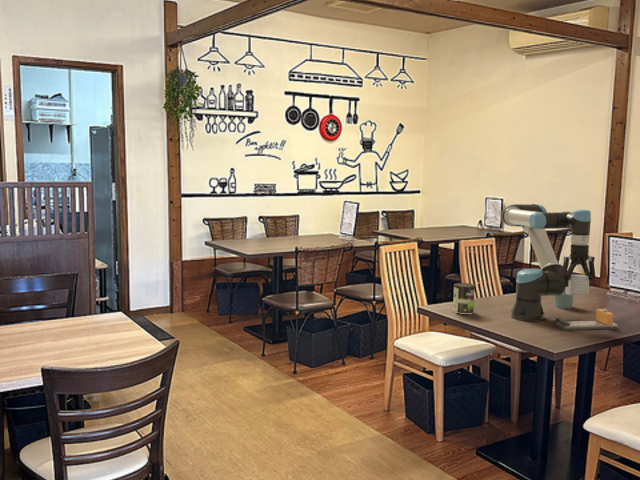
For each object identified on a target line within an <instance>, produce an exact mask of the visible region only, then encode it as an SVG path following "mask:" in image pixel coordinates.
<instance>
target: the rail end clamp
mask: <svg viewBox="0 0 640 480" xmlns="http://www.w3.org/2000/svg"><path fill="white" fill-rule="evenodd" d="M595 321H599V322H602V323H604V324H606V325H613V323H614V313H612V312H610V311H608V309H607V308H597V309H596V310H595Z"/></svg>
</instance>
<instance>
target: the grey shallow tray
mask: <svg viewBox="0 0 640 480" xmlns="http://www.w3.org/2000/svg"><path fill="white" fill-rule="evenodd" d="M555 322H556V323H555V326H556V325H557V326H556V327H558V328H560V329H562V330H563V329H564V331H575V330H577V331H579V330H587V331H588V330H619V329H620V326H619V325H618V324H617V323H616V322H613V325H606V324H604V323H602V322H599V321H597V320H580V321H573V320H572V321H569V320H568V321H566V320H564V319H562V318H561V317H556V318H555Z"/></svg>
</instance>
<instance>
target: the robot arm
mask: <svg viewBox="0 0 640 480" xmlns="http://www.w3.org/2000/svg"><path fill="white" fill-rule="evenodd" d="M591 214H592V213H591V211H590V210H588V209H578V208H577V209H573V211H572V212H571V211H561V212H557V211H555V212H554V211H553V212H547V208H546V207H545V206H543V205H542V204H539V203H538V204H537V203H531V204H528V203H527V204H526V203H525V204H521V203H520V204H517V203H516V204H515V203H514V204H510V205H507V206H505V207H504V208H503V209H502V211H501V213H500V219H501V221H502V223H503V224H505V225H506V226H509V227H519V228H520V227H521V228H522V230H523V232H524V233H526V234H528V237H529V240H530V243H531V247H532V248H533V251H534V254H535V256H536V259H537V262H538V264H539V265H538V266H539V267H540V268H524V269H521V270H519V271H518V272H517V274H516V279H515V281H516V282H515V283H516V285H515V302H514V303H513V307H512V309H511V313H510V315H511V318H513V317H514V319H515V318H517V319H516V320H519V319H521V320H520V321H525V320H528V321H529V322H538V321H539V320H540V321H542V320H544V319H545V312H544V309H543V305H542V297H543V296H544V297H546V296H547V297H548V296H549V297H550V296H551V297H552V296H554V297H555V296H557V295H559V296H561V295H567V294H570V286H571V280H569V279H570V276H571V275H573V273H574V270H575V268H576V267H577V266H579V265H580V266H581V267H582V270H583V272H584V275H586V276H588V277H589V278H588V292H587V295H589V290H590V287H591V283H592V280H593V279H595V278H596V269H595V259H596V257H595V256H592V255H589V252H590V251H589V250H590V249H589V248H590V245H589V244H590V235H591V234H590V232H591V222H592V221H591V220H592V218H591V217H592V215H591ZM546 229H547V230H548V229H549V230H551V229H552V230H554V229H555V230H557V229H558V230H560V229H561V230H562V229H565V230H568V229H569V230H571V234H570V235H571V238H570V243H571V244H570V254H569V256H565V255H564V256H563V258H562V259H563V262H562V263H563V264H560V263H559V262H558V259H557V257H556V254H555V251H554V249H553V246H552V244H551V241H550V239H549V236H548V234H547V231H546ZM587 261H588V263H587ZM528 321H527V322H528Z"/></svg>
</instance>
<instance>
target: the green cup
mask: <svg viewBox="0 0 640 480" xmlns="http://www.w3.org/2000/svg"><path fill="white" fill-rule="evenodd" d="M573 300H574V295H569V294H567V295H561V296H559V295H557V296H554V307H555V308H557V309H564V310H565V309H566V310H567V309H572V308H573V303H574V302H573Z"/></svg>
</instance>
